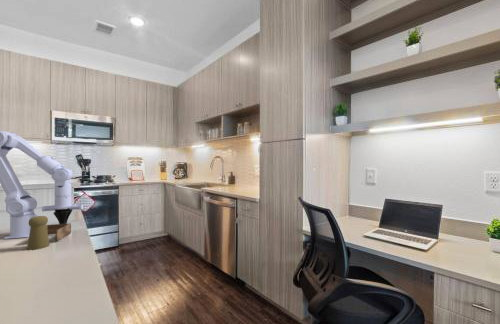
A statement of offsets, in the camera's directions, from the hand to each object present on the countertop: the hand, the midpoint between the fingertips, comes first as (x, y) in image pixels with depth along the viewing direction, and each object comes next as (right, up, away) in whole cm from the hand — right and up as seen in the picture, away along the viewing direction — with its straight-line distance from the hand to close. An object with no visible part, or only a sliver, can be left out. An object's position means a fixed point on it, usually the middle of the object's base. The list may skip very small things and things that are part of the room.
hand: (63, 226), depth 102 cm
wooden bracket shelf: (+2, -2, -9) cm, 9 cm away
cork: (+5, -3, -18) cm, 19 cm away
